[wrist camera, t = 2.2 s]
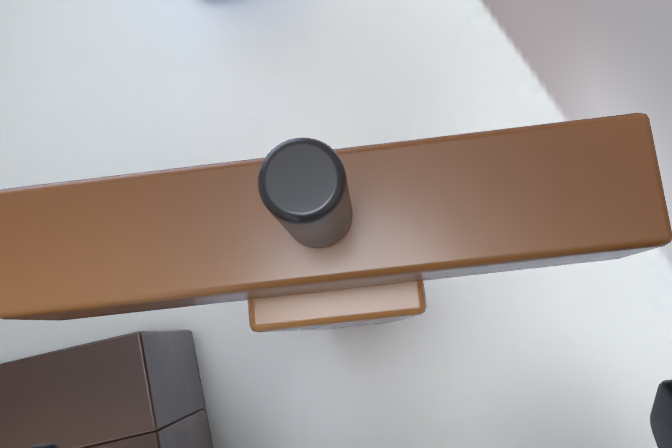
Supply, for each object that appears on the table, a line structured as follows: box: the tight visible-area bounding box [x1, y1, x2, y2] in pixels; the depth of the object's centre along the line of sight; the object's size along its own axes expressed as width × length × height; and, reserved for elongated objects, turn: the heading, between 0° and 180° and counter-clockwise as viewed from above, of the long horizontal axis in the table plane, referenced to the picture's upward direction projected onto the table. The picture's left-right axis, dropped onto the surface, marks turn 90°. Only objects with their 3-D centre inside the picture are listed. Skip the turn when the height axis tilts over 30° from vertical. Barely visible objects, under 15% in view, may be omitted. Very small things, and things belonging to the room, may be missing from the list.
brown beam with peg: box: [0, 113, 672, 332], centre depth 12 cm, size 2×7×16 cm, turn 96°
